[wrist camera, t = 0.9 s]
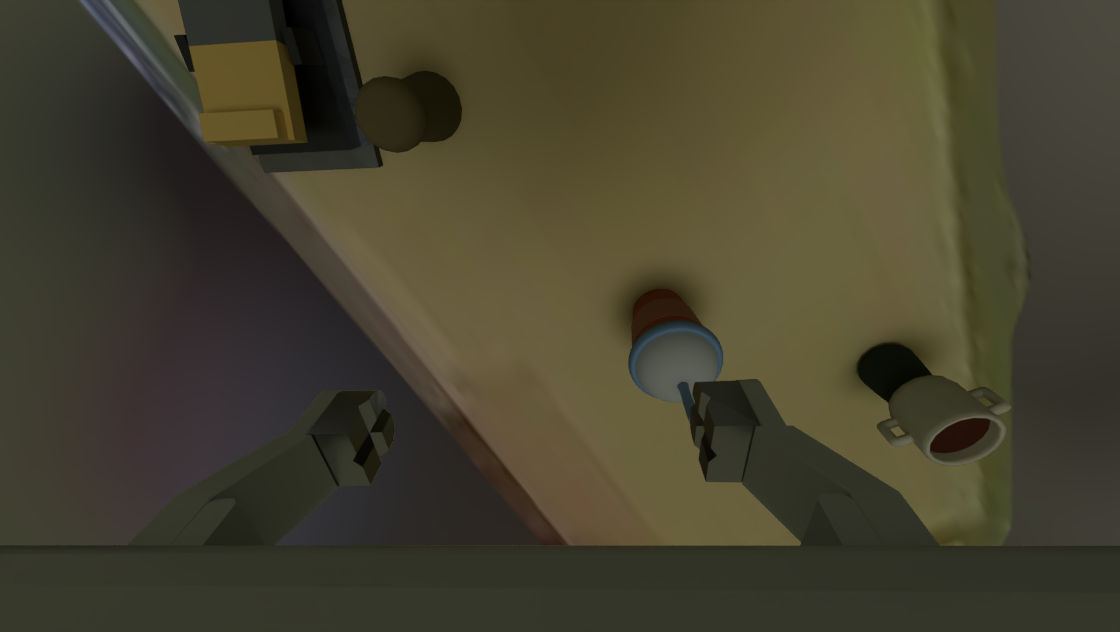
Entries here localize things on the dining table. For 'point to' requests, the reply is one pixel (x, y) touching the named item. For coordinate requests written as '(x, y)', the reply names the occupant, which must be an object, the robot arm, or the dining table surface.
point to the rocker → (243, 72)
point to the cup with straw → (671, 349)
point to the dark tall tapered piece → (407, 110)
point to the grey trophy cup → (933, 409)
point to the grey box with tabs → (318, 92)
